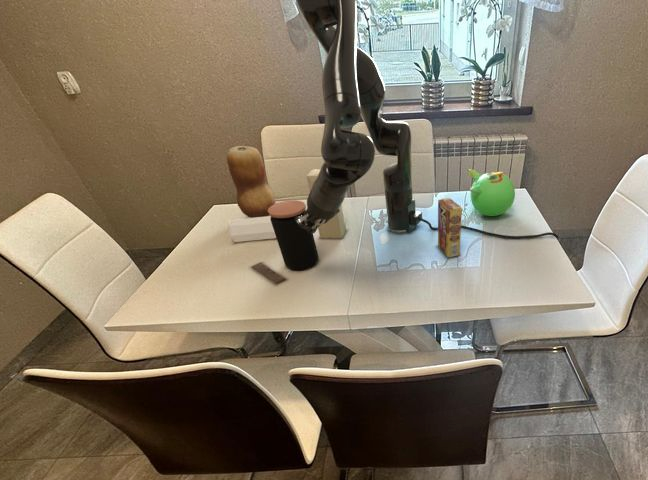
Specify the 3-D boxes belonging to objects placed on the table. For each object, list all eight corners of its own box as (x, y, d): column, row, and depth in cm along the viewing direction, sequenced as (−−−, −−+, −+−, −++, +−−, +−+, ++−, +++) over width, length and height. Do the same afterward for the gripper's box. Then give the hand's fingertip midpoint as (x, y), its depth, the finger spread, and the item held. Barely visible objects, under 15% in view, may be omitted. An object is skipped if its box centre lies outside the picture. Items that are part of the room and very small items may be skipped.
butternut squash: (278, 222, 144) (256, 150, 127) (242, 227, 142) (215, 155, 125) (280, 208, 154) (259, 140, 137) (246, 212, 152) (221, 144, 135)
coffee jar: (325, 257, 122) (312, 201, 110) (308, 274, 115) (292, 216, 102) (297, 253, 125) (281, 198, 112) (278, 269, 117) (259, 213, 105)
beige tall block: (347, 229, 136) (336, 167, 122) (342, 238, 131) (330, 175, 117) (326, 229, 137) (312, 168, 123) (320, 238, 132) (305, 176, 118)
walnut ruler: (285, 279, 113) (285, 278, 112) (276, 284, 111) (276, 282, 111) (261, 263, 121) (260, 262, 120) (252, 267, 119) (251, 266, 119)
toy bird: (516, 222, 134) (522, 179, 124) (468, 224, 135) (470, 181, 125) (508, 202, 147) (512, 162, 137) (464, 204, 148) (466, 164, 138)
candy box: (460, 255, 119) (462, 207, 108) (448, 258, 118) (448, 210, 107) (449, 243, 125) (450, 197, 114) (437, 246, 124) (437, 199, 113)
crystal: (222, 236, 128) (293, 229, 129) (223, 218, 130) (293, 212, 131) (232, 248, 135) (300, 242, 136) (233, 231, 137) (299, 225, 138)
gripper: (340, 174, 93) (322, 211, 107) (293, 190, 86) (281, 227, 101) (357, 201, 93) (336, 234, 108) (312, 219, 87) (297, 251, 101)
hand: (310, 230), depth 104 cm, fingers closed
